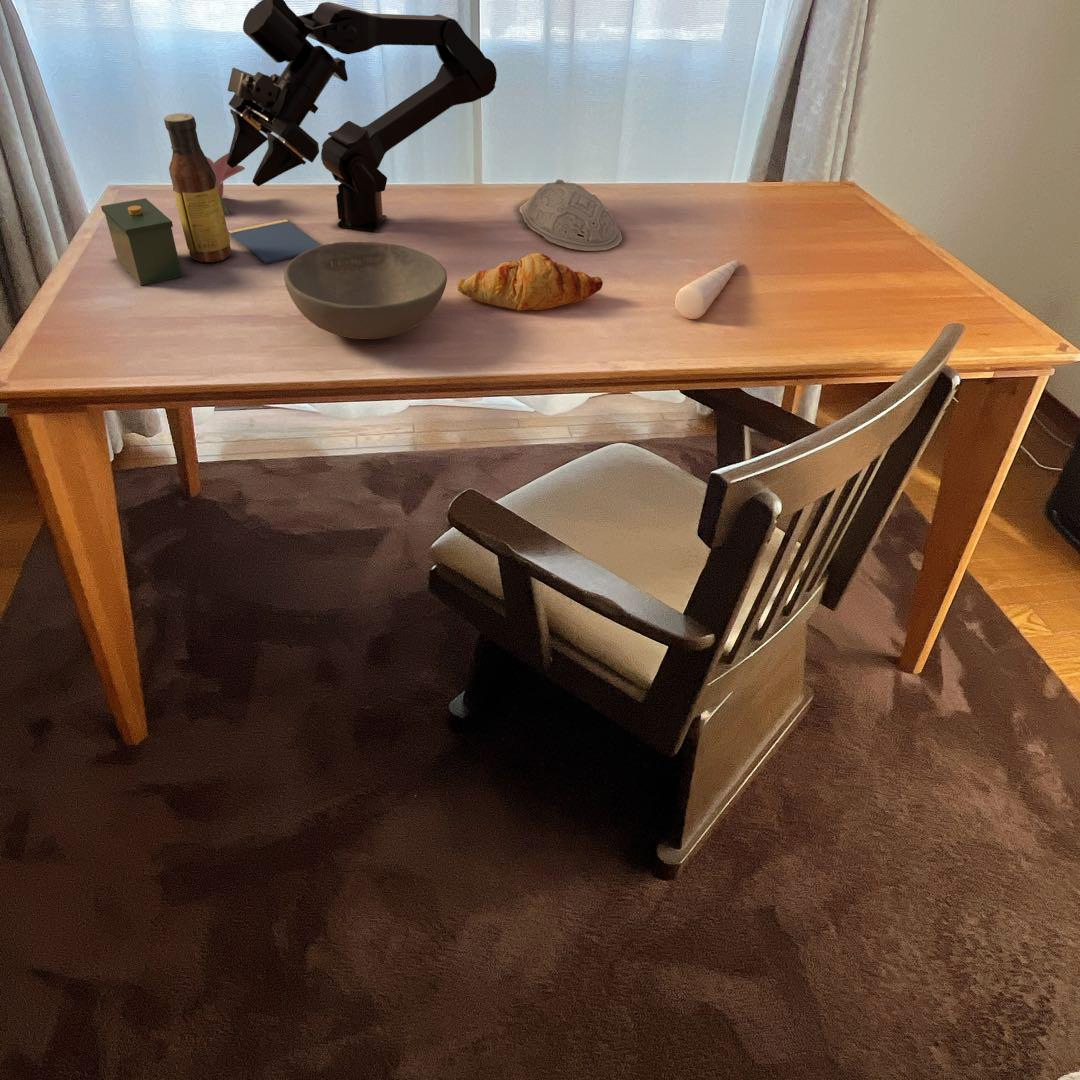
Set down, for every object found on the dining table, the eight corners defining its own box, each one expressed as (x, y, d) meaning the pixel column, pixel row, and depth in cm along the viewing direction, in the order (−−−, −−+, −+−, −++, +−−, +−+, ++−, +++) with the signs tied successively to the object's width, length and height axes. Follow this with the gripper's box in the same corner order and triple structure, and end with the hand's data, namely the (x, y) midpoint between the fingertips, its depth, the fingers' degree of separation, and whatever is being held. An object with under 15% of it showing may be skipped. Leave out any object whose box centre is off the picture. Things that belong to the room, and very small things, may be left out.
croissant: (458, 329, 127) (458, 294, 120) (455, 272, 131) (454, 235, 123) (602, 325, 129) (610, 291, 122) (594, 269, 133) (602, 233, 125)
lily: (262, 203, 154) (235, 147, 150) (257, 198, 143) (228, 138, 139) (198, 229, 153) (169, 174, 149) (189, 227, 142) (158, 167, 138)
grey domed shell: (551, 251, 140) (557, 208, 136) (504, 204, 159) (508, 165, 155) (638, 253, 145) (646, 212, 142) (582, 207, 164) (588, 169, 160)
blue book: (285, 221, 146) (285, 218, 145) (325, 250, 137) (325, 247, 137) (228, 233, 141) (227, 230, 140) (265, 264, 133) (265, 260, 132)
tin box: (158, 252, 134) (144, 192, 128) (184, 276, 128) (170, 215, 122) (115, 260, 131) (99, 200, 125) (140, 286, 125) (123, 224, 119)
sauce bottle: (240, 253, 135) (216, 115, 122) (213, 267, 131) (185, 126, 118) (206, 244, 137) (179, 107, 124) (178, 258, 132) (147, 118, 119)
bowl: (278, 301, 123) (269, 246, 118) (420, 283, 130) (418, 230, 125) (310, 374, 109) (302, 315, 104) (468, 349, 116) (468, 293, 110)
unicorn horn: (759, 269, 141) (766, 240, 138) (701, 324, 125) (707, 293, 122) (732, 262, 142) (738, 233, 139) (671, 315, 127) (676, 284, 124)
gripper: (230, 31, 127) (172, 123, 129) (287, 59, 116) (223, 159, 118) (287, 84, 136) (232, 169, 138) (346, 115, 125) (285, 206, 127)
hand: (242, 174), depth 130 cm, fingers open, 9 cm apart
